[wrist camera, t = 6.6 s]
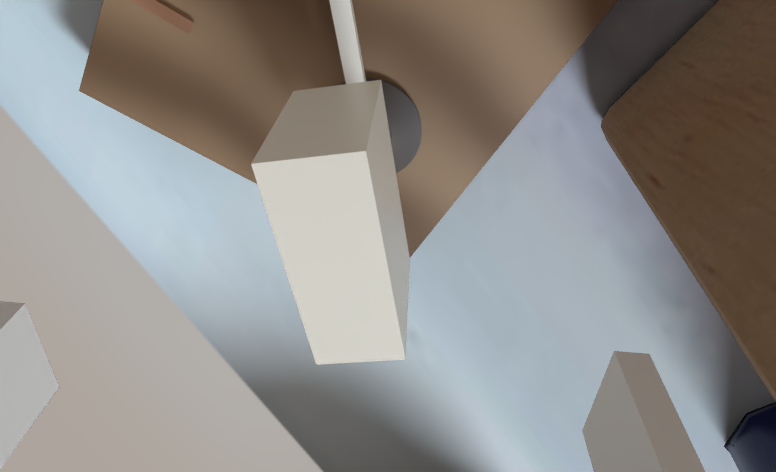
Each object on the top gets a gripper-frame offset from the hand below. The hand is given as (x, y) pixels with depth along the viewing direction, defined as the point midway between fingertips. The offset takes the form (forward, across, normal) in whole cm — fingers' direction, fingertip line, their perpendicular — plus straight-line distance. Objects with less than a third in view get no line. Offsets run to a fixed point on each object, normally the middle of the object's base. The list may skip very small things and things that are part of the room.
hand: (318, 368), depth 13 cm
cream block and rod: (+12, -1, +4) cm, 12 cm away
